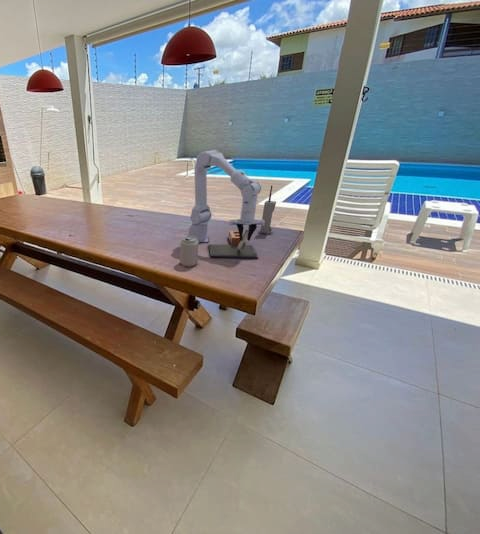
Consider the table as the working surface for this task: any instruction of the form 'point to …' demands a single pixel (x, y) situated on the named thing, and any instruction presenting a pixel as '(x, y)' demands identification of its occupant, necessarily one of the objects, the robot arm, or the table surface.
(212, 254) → the tablet
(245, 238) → the stylus
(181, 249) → the can
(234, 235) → the pen stand
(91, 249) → the table surface
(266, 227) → the vintage mobile phone
